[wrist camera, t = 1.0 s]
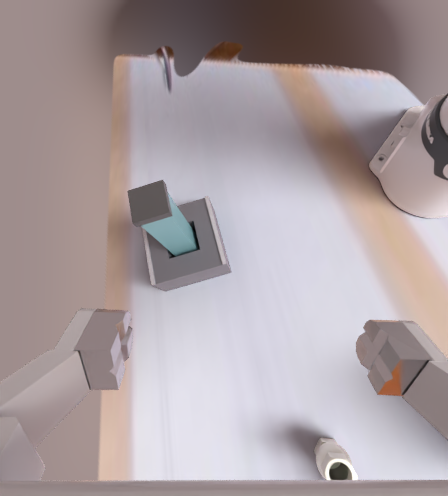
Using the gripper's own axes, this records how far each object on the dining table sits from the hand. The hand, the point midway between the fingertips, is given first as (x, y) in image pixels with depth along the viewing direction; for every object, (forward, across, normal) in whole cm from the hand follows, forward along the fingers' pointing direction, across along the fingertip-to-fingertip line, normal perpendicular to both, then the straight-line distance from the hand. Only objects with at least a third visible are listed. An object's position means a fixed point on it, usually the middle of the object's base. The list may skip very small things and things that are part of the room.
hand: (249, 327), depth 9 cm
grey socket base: (+35, +4, +19) cm, 40 cm away
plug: (+34, +5, +18) cm, 39 cm away
